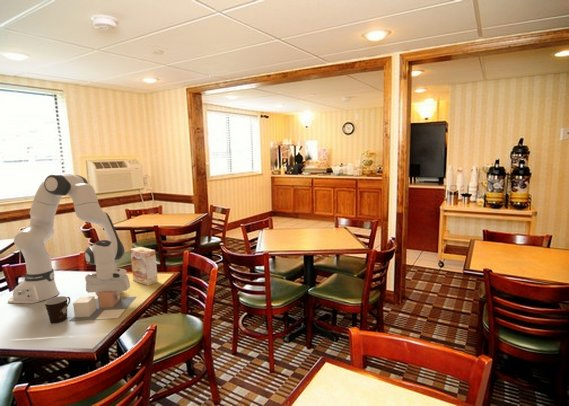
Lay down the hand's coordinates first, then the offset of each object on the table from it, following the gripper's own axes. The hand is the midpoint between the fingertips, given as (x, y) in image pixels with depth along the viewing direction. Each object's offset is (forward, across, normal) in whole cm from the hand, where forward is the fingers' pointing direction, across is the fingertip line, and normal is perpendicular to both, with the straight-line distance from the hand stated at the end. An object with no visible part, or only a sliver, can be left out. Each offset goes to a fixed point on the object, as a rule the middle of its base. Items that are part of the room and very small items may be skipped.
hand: (109, 299), depth 173 cm
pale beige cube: (+2, -7, -10) cm, 12 cm away
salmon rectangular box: (+2, 0, 0) cm, 2 cm away
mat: (+3, 0, -5) cm, 6 cm away
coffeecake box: (+3, +8, +30) cm, 31 cm away
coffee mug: (+3, -16, -14) cm, 21 cm away
